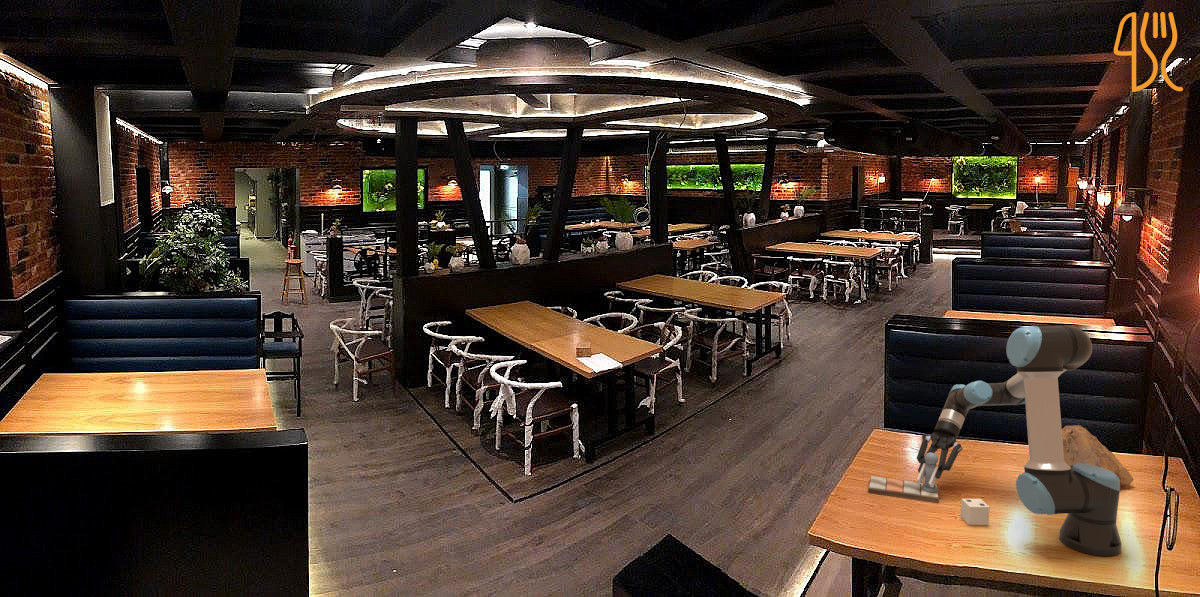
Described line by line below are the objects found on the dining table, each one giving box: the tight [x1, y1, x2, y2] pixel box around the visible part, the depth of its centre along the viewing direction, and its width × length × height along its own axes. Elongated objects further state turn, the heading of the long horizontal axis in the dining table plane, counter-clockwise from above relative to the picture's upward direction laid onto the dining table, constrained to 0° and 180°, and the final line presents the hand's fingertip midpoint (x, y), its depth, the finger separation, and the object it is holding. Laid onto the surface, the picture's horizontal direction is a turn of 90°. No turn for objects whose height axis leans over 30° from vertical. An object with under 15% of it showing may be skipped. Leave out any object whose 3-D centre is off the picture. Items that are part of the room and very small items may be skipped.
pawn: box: [922, 452, 939, 493], centre depth 247 cm, size 5×5×13 cm
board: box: [868, 475, 940, 504], centre depth 252 cm, size 12×22×2 cm, turn 67°
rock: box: [1062, 424, 1135, 487], centre depth 263 cm, size 29×18×15 cm, turn 7°
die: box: [959, 498, 991, 526], centre depth 229 cm, size 6×6×6 cm
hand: (924, 483), depth 245 cm, fingers closed on pawn, 3 cm apart
